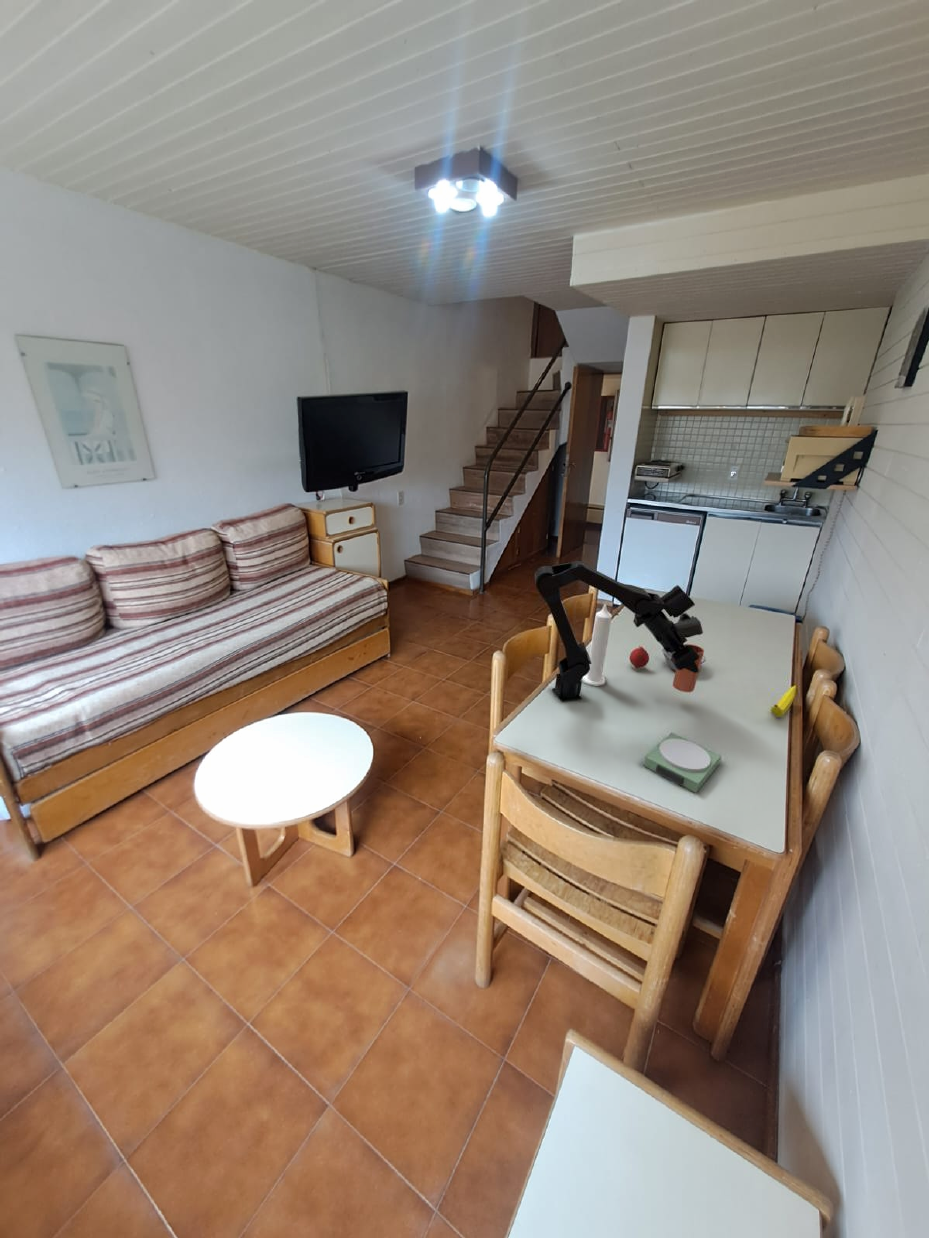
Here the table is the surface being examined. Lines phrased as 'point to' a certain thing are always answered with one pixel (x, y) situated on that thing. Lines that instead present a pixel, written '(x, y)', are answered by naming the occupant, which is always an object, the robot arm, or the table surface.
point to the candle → (598, 648)
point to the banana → (784, 703)
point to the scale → (683, 761)
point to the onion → (639, 657)
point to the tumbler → (687, 674)
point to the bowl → (670, 663)
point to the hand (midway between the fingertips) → (693, 666)
